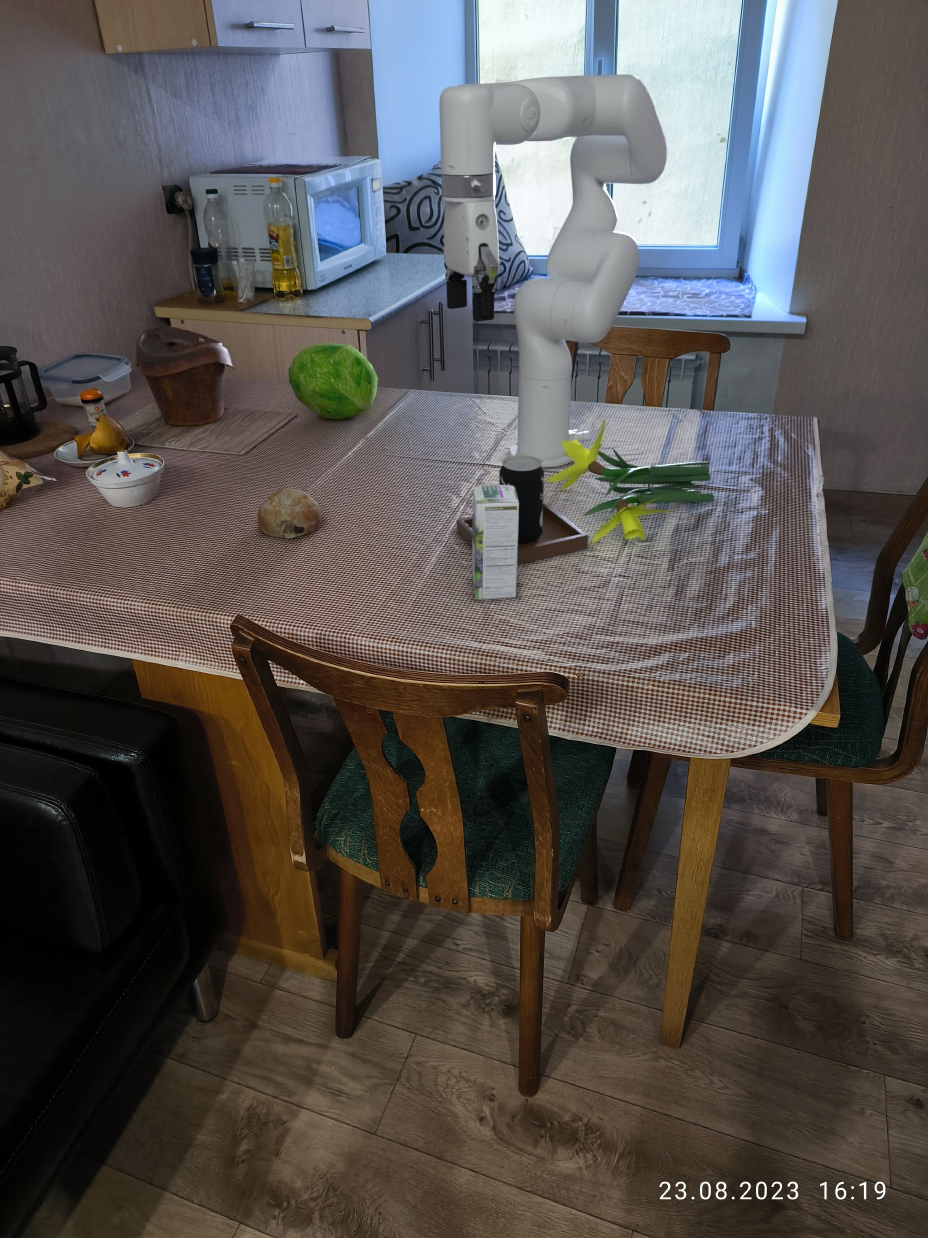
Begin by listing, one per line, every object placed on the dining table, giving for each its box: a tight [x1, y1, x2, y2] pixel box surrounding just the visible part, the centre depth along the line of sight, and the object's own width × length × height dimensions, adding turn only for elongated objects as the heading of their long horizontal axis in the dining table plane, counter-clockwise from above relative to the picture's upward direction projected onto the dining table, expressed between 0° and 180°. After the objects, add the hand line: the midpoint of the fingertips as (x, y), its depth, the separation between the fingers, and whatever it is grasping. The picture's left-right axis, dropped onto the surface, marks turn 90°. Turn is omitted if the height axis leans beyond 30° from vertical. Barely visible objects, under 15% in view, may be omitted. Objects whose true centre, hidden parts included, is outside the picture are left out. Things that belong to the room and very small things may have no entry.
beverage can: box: [498, 455, 545, 544], centre depth 129 cm, size 7×7×12 cm
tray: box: [456, 501, 589, 566], centre depth 132 cm, size 16×14×2 cm
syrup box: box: [471, 484, 519, 601], centre depth 116 cm, size 6×6×14 cm
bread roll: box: [256, 487, 323, 540], centre depth 137 cm, size 10×10×8 cm
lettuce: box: [288, 342, 379, 420], centre depth 181 cm, size 17×20×17 cm
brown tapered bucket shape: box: [134, 325, 236, 427], centre depth 181 cm, size 18×20×18 cm
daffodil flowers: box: [544, 419, 715, 545], centre depth 132 cm, size 17×15×35 cm
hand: (470, 313), depth 130 cm, fingers open, 9 cm apart
